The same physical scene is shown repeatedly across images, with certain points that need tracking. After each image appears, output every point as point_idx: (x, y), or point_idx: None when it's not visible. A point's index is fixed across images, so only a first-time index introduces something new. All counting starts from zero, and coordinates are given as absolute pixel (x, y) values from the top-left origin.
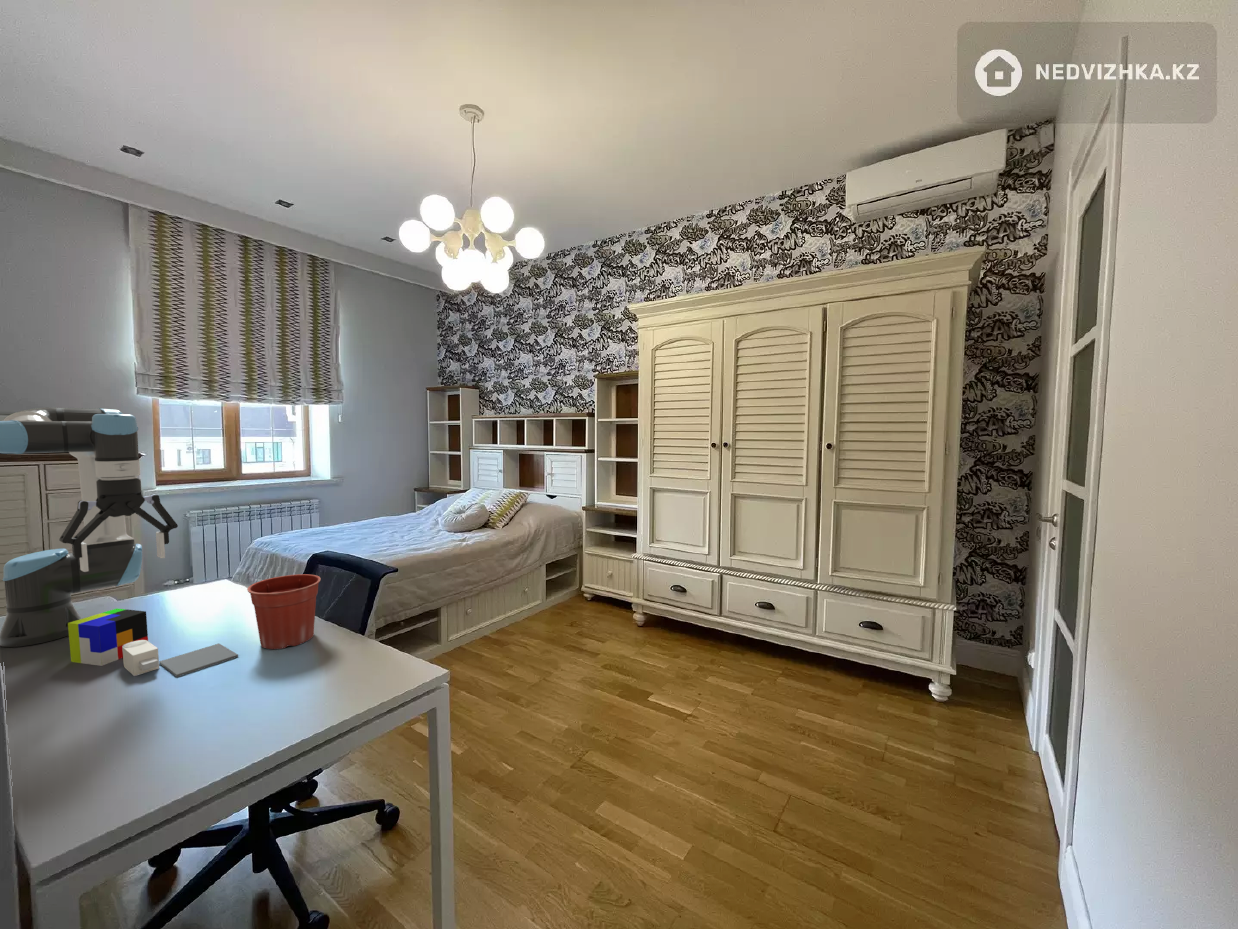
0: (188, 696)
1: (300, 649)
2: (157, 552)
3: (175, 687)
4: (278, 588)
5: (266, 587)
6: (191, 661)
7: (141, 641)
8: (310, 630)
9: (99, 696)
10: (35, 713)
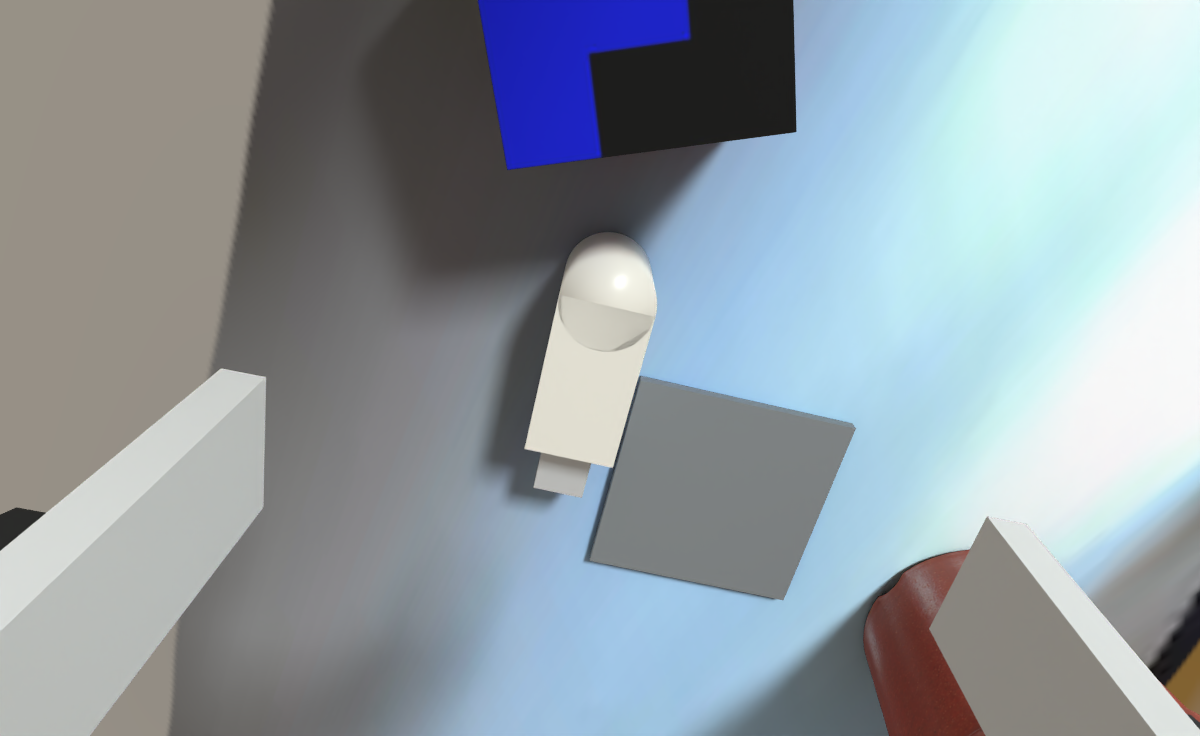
0: (523, 701)
1: None
2: (1014, 569)
3: (542, 618)
4: None
5: None
6: (683, 501)
7: (637, 303)
8: None
9: (399, 461)
10: None
